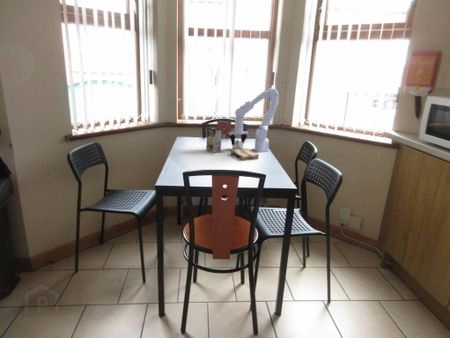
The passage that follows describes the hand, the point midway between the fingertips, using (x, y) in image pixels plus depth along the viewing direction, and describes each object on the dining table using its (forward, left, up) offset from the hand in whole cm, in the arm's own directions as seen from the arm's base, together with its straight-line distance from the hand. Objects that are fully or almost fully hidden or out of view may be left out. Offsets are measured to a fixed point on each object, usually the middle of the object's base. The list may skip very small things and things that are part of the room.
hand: (237, 144), depth 222 cm
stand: (+4, +16, -4) cm, 17 cm away
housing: (0, 0, -4) cm, 4 cm away
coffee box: (+18, -2, -4) cm, 18 cm away
